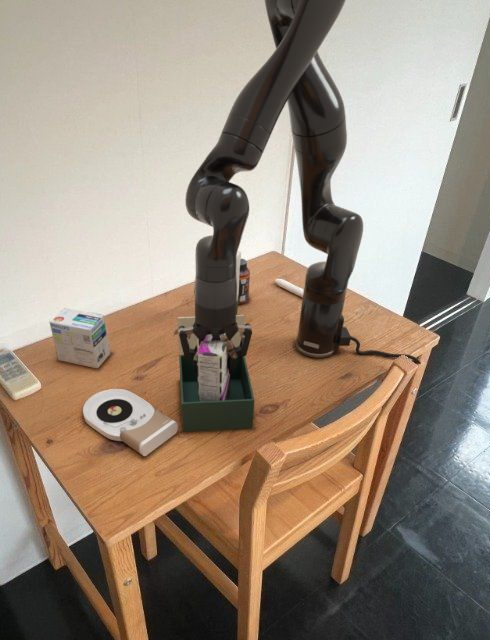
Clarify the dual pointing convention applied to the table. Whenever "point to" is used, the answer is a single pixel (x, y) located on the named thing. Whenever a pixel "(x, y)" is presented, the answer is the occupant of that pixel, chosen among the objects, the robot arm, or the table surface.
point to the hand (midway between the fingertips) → (214, 371)
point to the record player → (128, 420)
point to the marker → (290, 287)
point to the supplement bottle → (243, 282)
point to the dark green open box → (216, 413)
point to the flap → (193, 340)
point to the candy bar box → (213, 371)
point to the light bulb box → (80, 337)
